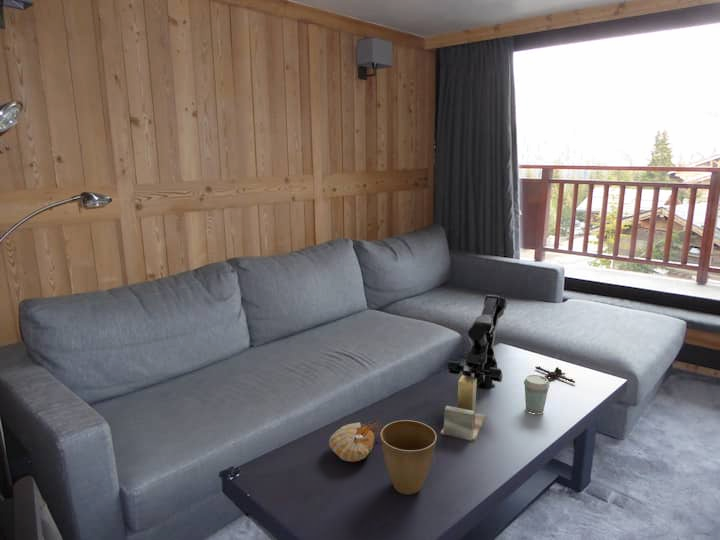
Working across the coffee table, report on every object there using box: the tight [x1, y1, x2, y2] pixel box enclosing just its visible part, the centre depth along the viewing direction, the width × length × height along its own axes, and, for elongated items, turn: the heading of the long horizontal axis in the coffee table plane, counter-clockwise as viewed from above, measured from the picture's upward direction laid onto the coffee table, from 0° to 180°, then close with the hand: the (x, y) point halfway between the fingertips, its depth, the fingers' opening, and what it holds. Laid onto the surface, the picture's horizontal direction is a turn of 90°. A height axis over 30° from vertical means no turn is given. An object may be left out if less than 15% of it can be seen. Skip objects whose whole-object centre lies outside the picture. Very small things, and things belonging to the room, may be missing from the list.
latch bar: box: [456, 374, 477, 413], centre depth 175 cm, size 6×5×14 cm
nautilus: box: [328, 420, 383, 463], centre depth 159 cm, size 8×22×15 cm
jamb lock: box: [440, 405, 486, 442], centre depth 173 cm, size 16×11×9 cm, turn 155°
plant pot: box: [380, 419, 437, 495], centre depth 141 cm, size 15×15×16 cm
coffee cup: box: [523, 374, 550, 414], centre depth 182 cm, size 8×8×12 cm
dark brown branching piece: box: [535, 365, 576, 384], centre depth 208 cm, size 18×4×14 cm
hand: (469, 394), depth 179 cm, fingers closed
